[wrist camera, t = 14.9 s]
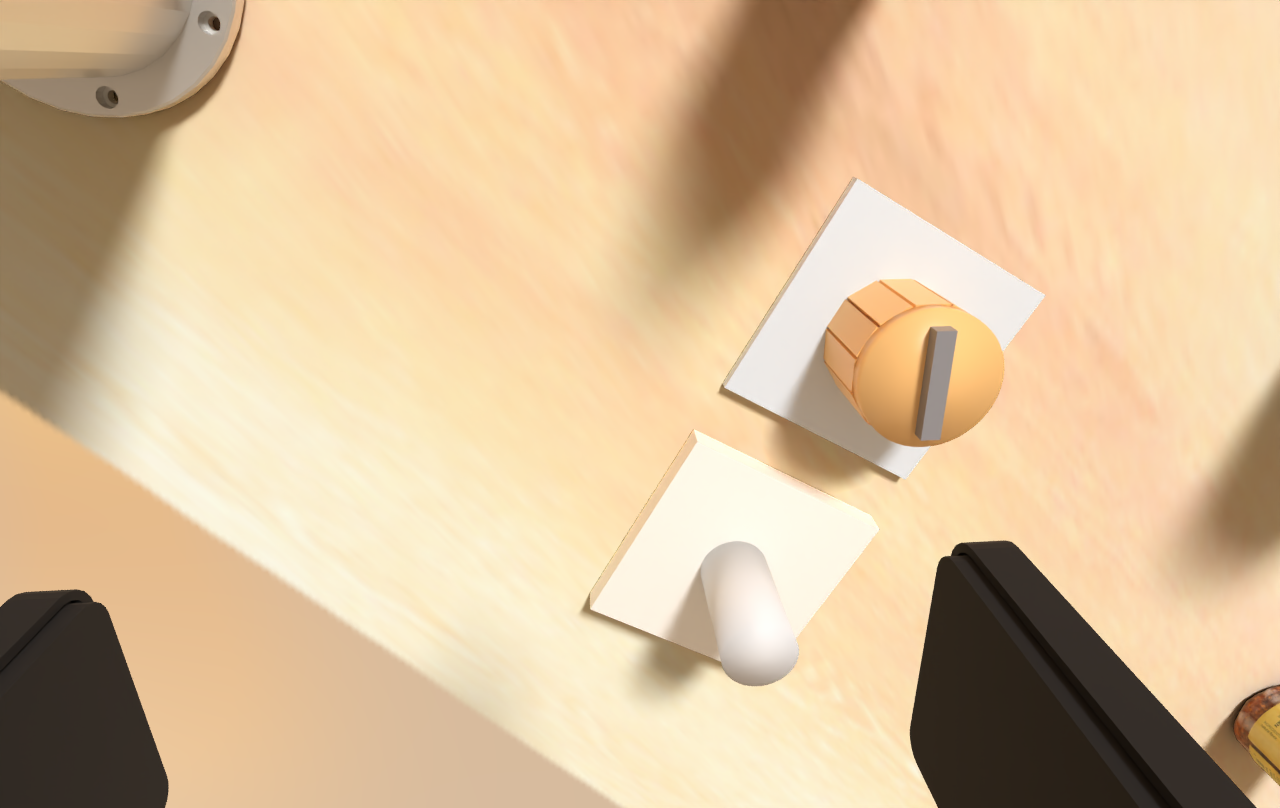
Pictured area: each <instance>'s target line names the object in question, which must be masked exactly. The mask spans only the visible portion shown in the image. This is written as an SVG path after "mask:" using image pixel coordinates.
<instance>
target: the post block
mask: <svg viewBox="0 0 1280 808" xmlns="http://www.w3.org/2000/svg"><path fill="white" fill-rule="evenodd" d="M879 530H880V529H879V528H878V526H877V524H876V523H875V521H874V520H873V518H872V517H871V515H869V514H867V513H865V512H863V511H861V510H859V509H857V508H855V507H853V506H851V505H849V504H846V503H844V502H842V501H840V500H838V499H836V498H834V497H832V496H830V495H828V494H826V493H824V492H822V491H820V490H818V489H816V488H814V487H812V486H809V485H807V484H805V483H803V482H801V481H799V480H797V479H795V478H793V477H791V476H789V475H787V474H785V473H783V472H781V471H779V470H777V469H775V468H773V467H770V466H768V465H766V464H764V463H762V462H760V461H758V460H756V459H754V458H752V457H750V456H748V455H746V454H744V453H742V452H740V451H738V450H736V449H733V448H731V447H729V446H727V445H725V444H723V443H721V442H719V441H717V440H715V439H713V438H711V437H709V436H707V435H705V434H703V433H701V432H699V431H697V430H694V429H693V431H692V433H691V434H690V436H689V437H688V439H687V440H686V442H685V444H684V445H683V447H682V448H681V450H680V451H679V453H678V455H677V456H676V458H675V459H674V461H673V463H672V464H671V466H670V467H669V469H668V470H667V472H666V474H665V475H664V477H663V478H662V480H661V481H660V483H659V485H658V486H657V488H656V489H655V491H654V492H653V494H652V496H651V497H650V499H649V500H648V502H647V504H646V505H645V507H644V508H643V510H642V511H641V513H640V515H639V516H638V518H637V519H636V521H635V522H634V524H633V526H632V527H631V529H630V530H629V532H628V534H627V535H626V537H625V538H624V540H623V541H622V543H621V545H620V546H619V548H618V549H617V551H616V552H615V554H614V556H613V557H612V559H611V560H610V562H609V564H608V565H607V567H606V568H605V570H604V571H603V573H602V575H601V576H600V578H599V579H598V581H597V582H596V584H595V586H594V587H593V589H592V590H591V592H590V609H591V610H593V611H596V612H598V613H601V614H603V615H606V616H608V617H611V618H613V619H616V620H618V621H621V622H623V623H626V624H628V625H631V626H633V627H636V628H638V629H641V630H643V631H646V632H648V633H651V634H653V635H656V636H658V637H660V638H663V639H665V640H668V641H670V642H673V643H675V644H678V645H680V646H683V647H685V648H688V649H690V650H693V651H695V652H698V653H700V654H703V655H705V656H708V657H710V658H713V659H715V660H718V661H720V662H721V664H722V667H723V670H724V671H725V673H726V674H727V675H728V676H729V677H730V678H731V679H732V680H734V681H736V682H738V683H740V684H743V685H748V686H763V685H768V684H771V683H774V682H776V681H778V680H780V679H782V678H783V677H785V676H786V675H787V674H788V673H789V672H790V671H791V670H792V669H793V667H794V666H795V664H796V662H797V659H798V655H799V647H798V643H797V641H796V638H797V636H798V635H799V634H800V632H801V631H802V630H803V629H804V627H805V626H806V625H807V623H808V622H809V621H810V619H811V618H812V617H813V616H814V614H815V613H816V612H817V610H818V609H819V608H820V606H821V605H822V604H823V602H824V601H825V600H826V599H827V597H828V596H829V595H830V593H831V592H832V591H833V589H834V588H835V587H836V586H837V584H838V583H839V582H840V580H841V579H842V578H843V576H844V575H845V574H846V573H847V571H848V570H849V569H850V567H851V566H852V565H853V563H854V562H855V561H856V560H857V558H858V557H859V556H860V554H861V553H862V552H863V550H864V549H865V548H866V546H867V545H868V544H869V543H870V541H871V540H872V539H873V537H874V536H875V535H876V533H877V532H878V531H879Z"/></svg>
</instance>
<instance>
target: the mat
mask: <svg viewBox="0 0 1280 808" xmlns="http://www.w3.org/2000/svg"><path fill="white" fill-rule="evenodd" d="M882 279H912V280H916V281H918V282H919V283H921V284H923V285H924V286H926V287H928V288H929V289H931V290H933V291H934V292H936V293H938V294H939V295H941V296H942V297H944V298H946V299H947V300H949V301H950V302H952V303H954V304H955V305H957V306H958V307H960V308H962V309H963V310H965V311H966V312H968V313H969V314H971V315H973V316H974V317H976V318H977V319H979V320H981V322H983V323H984V324H985V325H986V326H987V327H988V328H989V329H990V330H991V331H992V332H993V333H994V335H995V336H996V338H997V339H998V341H999V343H1000V346H1001V349H1002V352H1003V351H1004V349H1005V348H1006V347H1007V345H1008V344H1009V343H1010V342H1011V340H1012V339H1013V338H1014V336H1015V335H1016V334H1017V332H1018V331H1019V330H1020V328H1021V327H1022V326H1023V324H1024V323H1025V322H1026V320H1027V319H1028V318H1029V317H1030V315H1031V314H1032V313H1033V311H1034V310H1035V309H1036V307H1037V306H1038V305H1039V303H1040V302H1041V301H1042V299H1043V298H1044V297H1045V296H1046V295H1044V294H1042V293H1041V292H1039V291H1038V290H1036V289H1034V288H1033V287H1031V286H1029V285H1028V284H1026V283H1025V282H1023V281H1021V280H1020V279H1018V278H1017V277H1015V276H1013V275H1012V274H1010V273H1009V272H1007V271H1005V270H1004V269H1002V268H1001V267H999V266H997V265H996V264H994V263H992V262H991V261H989V260H988V259H986V258H984V257H983V256H981V255H980V254H978V253H976V252H975V251H973V250H972V249H970V248H968V247H967V246H965V245H964V244H962V243H960V242H959V241H957V240H955V239H954V238H952V237H951V236H949V235H947V234H946V233H944V232H943V231H941V230H939V229H938V228H936V227H935V226H933V225H931V224H930V223H928V222H927V221H925V220H923V219H922V218H920V217H918V216H917V215H915V214H914V213H912V212H910V211H909V210H907V209H906V208H904V207H902V206H901V205H899V204H898V203H896V202H894V201H893V200H891V199H890V198H888V197H886V196H885V195H883V194H881V193H880V192H878V191H877V190H875V189H873V188H872V187H870V186H869V185H867V184H865V183H864V182H862V181H861V180H859V179H857V178H855V177H853V178H852V180H851V182H850V183H849V185H848V186H847V188H846V189H845V191H844V193H843V194H842V196H841V197H840V199H839V201H838V202H837V204H836V205H835V207H834V208H833V210H832V212H831V213H830V215H829V216H828V218H827V219H826V221H825V223H824V224H823V226H822V227H821V229H820V231H819V232H818V234H817V235H816V237H815V238H814V240H813V242H812V243H811V245H810V246H809V248H808V249H807V251H806V253H805V254H804V256H803V257H802V259H801V261H800V262H799V264H798V265H797V267H796V268H795V270H794V272H793V273H792V275H791V276H790V278H789V279H788V281H787V283H786V284H785V286H784V287H783V289H782V290H781V292H780V294H779V295H778V297H777V298H776V300H775V302H774V303H773V305H772V306H771V308H770V309H769V311H768V313H767V314H766V316H765V317H764V319H763V320H762V322H761V324H760V325H759V327H758V328H757V330H756V332H755V333H754V335H753V336H752V338H751V339H750V341H749V343H748V344H747V346H746V347H745V349H744V350H743V352H742V354H741V355H740V357H739V358H738V360H737V362H736V363H735V365H734V366H733V368H732V369H731V371H730V373H729V374H728V376H727V377H726V379H725V380H724V382H723V385H724V387H725V388H726V389H728V390H730V391H732V392H734V393H736V394H738V395H740V396H742V397H744V398H746V399H748V400H750V401H752V402H754V403H756V404H758V405H760V406H762V407H764V408H765V409H767V410H769V411H771V412H773V413H775V414H777V415H779V416H781V417H783V418H785V419H787V420H789V421H791V422H793V423H795V424H797V425H799V426H801V427H803V428H805V429H807V430H809V431H811V432H813V433H815V434H817V435H819V436H821V437H822V438H824V439H826V440H828V441H830V442H832V443H834V444H836V445H838V446H840V447H842V448H844V449H846V450H848V451H850V452H852V453H854V454H856V455H858V456H860V457H862V458H864V459H866V460H868V461H870V462H872V463H874V464H876V465H878V466H880V467H881V468H883V469H885V470H887V471H889V472H891V473H893V474H895V475H897V476H899V477H901V478H903V479H906V478H907V477H908V476H909V474H910V473H911V472H912V470H913V469H914V468H915V466H916V465H917V464H918V462H919V461H920V460H921V458H922V457H923V456H924V454H925V453H926V452H927V451H928V449H929V448H930V447H931V446H928V447H910V446H904V445H900V444H897V443H894V442H892V441H890V440H888V439H886V438H885V437H883V436H882V435H880V434H879V433H878V432H877V431H876V430H875V429H874V428H873V427H872V426H871V425H869V424H868V423H867V422H866V421H865V420H864V419H863V418H862V417H861V415H860V414H859V413H858V412H857V410H856V409H855V408H854V407H853V405H852V404H851V403H850V402H849V400H848V399H847V398H846V397H845V396H844V394H843V393H842V392H841V391H840V389H839V388H838V387H837V386H836V384H835V382H834V380H833V378H832V376H831V374H830V372H829V370H828V368H827V367H826V365H825V363H824V361H825V360H824V359H823V357H824V346H825V335H826V329H829V328H828V327H827V326H828V324H829V323H830V321H831V320H832V318H833V317H834V315H835V314H836V312H837V311H838V309H839V308H840V306H841V305H842V303H843V302H844V300H845V299H846V300H847V301H849V299H848V296H850V295H852V294H854V293H855V292H857V291H859V290H861V289H862V288H864V287H866V286H868V285H869V284H871V283H873V282H875V281H876V280H877V281H878V282H879V281H880V280H882ZM849 302H850V301H849Z"/></svg>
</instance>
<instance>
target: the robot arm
mask: <svg viewBox="0 0 1280 808" xmlns="http://www.w3.org/2000/svg"><path fill="white" fill-rule="evenodd" d="M243 6H244V0H0V81H2V82H4V83H5V84H7V85H9V86H10V87H12V88H14V89H16V90H17V91H19V92H21V93H22V94H24V95H26V96H28V97H29V98H32V99H34V100H37V101H39V102H42V103H44V104H47V105H49V106H52V107H54V108H57V109H59V110H63V111H68V112H72V113H77V114H82V115H86V116H91V117H130V116H139V115H146V114H150V113H153V112H157V111H160V110H164V109H167V108H171V107H173V106H175V105H176V104H178V103H180V102H182V101H184V100H185V99H187V98H189V97H191V96H193V95H194V94H196V93H197V92H198V91H199V90H200V89H201V88H202V87H203V86H204V85H205V84H207V83H208V82H209V81H210V80H211V79H212V78H213V77H214V76H215V74H216V73H217V72H218V70H219V69H220V67H221V66H222V64H223V63H224V61H225V60H226V58H227V57H228V55H229V54H230V51H231V49H232V46H233V44H234V41H235V39H236V36H237V33H238V31H239V28H240V24H241V18H242V12H243ZM216 17H217V18H218V19H219V21H220V30H218V31H217V30H216V29H215V28H214V26H213V20H214V18H216ZM114 92H116V94H117V96H118V102H117V101H116V100H115V99H114V97H113V93H114ZM910 741H911V747H912V751H913V755H914V758H915V760H916V763H917V765H918V767H919V769H920V771H921V773H922V775H923V778H924V780H925V782H926V784H927V786H928V788H929V790H930V792H931V794H932V796H933V798H934V800H935V802H936V804H937V806H938V808H1256V807H1255V805H1254V804H1253V803H1252V802H1251V801H1250V800H1249V799H1248V798H1247V797H1246V796H1245V795H1244V793H1243V792H1242V791H1241V790H1240V789H1239V788H1238V787H1237V786H1236V785H1235V784H1234V783H1233V781H1232V780H1231V779H1230V778H1229V777H1228V776H1227V775H1226V774H1225V773H1224V772H1223V771H1222V769H1221V768H1220V767H1219V766H1218V765H1217V764H1216V763H1215V762H1214V761H1213V760H1212V759H1211V757H1210V756H1209V755H1208V754H1207V753H1206V752H1205V751H1204V750H1203V749H1202V748H1201V747H1200V745H1199V744H1198V743H1197V742H1196V741H1195V740H1194V739H1193V738H1192V737H1191V736H1190V735H1189V733H1188V732H1187V731H1186V730H1185V729H1184V728H1183V727H1182V726H1181V725H1180V724H1179V722H1178V721H1177V720H1176V719H1175V718H1174V717H1173V716H1172V715H1171V714H1170V713H1169V712H1168V710H1167V709H1166V708H1165V707H1164V706H1163V705H1162V704H1161V703H1160V702H1159V701H1158V700H1157V698H1156V697H1155V696H1154V695H1153V694H1152V693H1151V692H1150V691H1149V690H1148V689H1147V688H1146V686H1145V685H1144V684H1143V683H1142V682H1141V681H1140V680H1139V679H1138V678H1137V677H1136V676H1135V674H1134V673H1133V672H1132V671H1131V670H1130V669H1129V668H1128V667H1127V666H1126V665H1125V664H1124V662H1123V661H1122V660H1121V659H1120V658H1119V657H1118V656H1117V655H1116V654H1115V653H1114V652H1113V650H1112V649H1111V648H1110V647H1109V646H1108V645H1107V644H1106V643H1105V642H1104V641H1103V640H1102V638H1101V637H1100V636H1099V635H1098V634H1097V633H1096V632H1095V631H1094V630H1093V629H1092V627H1091V626H1090V625H1089V624H1088V623H1087V622H1086V621H1085V620H1084V619H1083V618H1082V617H1081V615H1080V614H1079V613H1078V612H1077V611H1076V610H1075V609H1074V608H1073V607H1072V606H1071V605H1070V603H1069V602H1068V601H1067V600H1066V599H1065V598H1064V597H1063V596H1062V595H1061V594H1060V593H1059V591H1058V590H1057V589H1056V588H1055V587H1054V586H1053V585H1052V584H1051V583H1050V582H1049V581H1048V579H1047V578H1046V577H1045V576H1044V575H1043V574H1042V573H1041V572H1040V571H1039V570H1038V569H1037V567H1036V566H1035V565H1034V564H1033V563H1032V562H1031V561H1030V560H1029V559H1028V558H1027V557H1026V555H1025V554H1024V553H1023V552H1022V551H1021V550H1020V549H1019V548H1018V547H1017V546H1016V545H1015V544H1013V543H1012V542H1009V541H988V542H969V543H960V544H958V545H956V546H955V548H954V549H953V551H952V554H951V556H945V557H943V558H941V560H940V561H939V564H938V567H937V572H936V578H935V584H934V590H933V596H932V602H931V608H930V613H929V619H928V625H927V631H926V637H925V643H924V649H923V655H922V661H921V667H920V673H919V678H918V684H917V690H916V696H915V702H914V708H913V714H912V720H911V726H910ZM167 797H168V779H167V775H166V772H165V769H164V767H163V764H162V761H161V758H160V755H159V753H158V750H157V747H156V744H155V741H154V739H153V736H152V733H151V730H150V727H149V725H148V722H147V719H146V716H145V713H144V711H143V708H142V705H141V702H140V699H139V697H138V694H137V691H136V688H135V685H134V683H133V680H132V677H131V674H130V671H129V668H128V666H127V663H126V660H125V657H124V654H123V652H122V649H121V646H120V643H119V641H118V638H117V635H116V632H115V630H114V627H113V624H112V621H111V618H110V615H109V613H108V611H107V609H106V607H104V605H102V604H101V603H97V602H93V600H92V598H91V597H90V596H89V595H88V594H87V593H86V592H85V591H81V590H58V591H39V592H24V593H21V594H17V595H15V596H13V597H12V598H10V599H9V600H7V601H6V602H5V603H4V604H3V605H2V606H1V607H0V808H165V805H166V802H167Z"/></svg>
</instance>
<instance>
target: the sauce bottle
mask: <svg viewBox="0 0 1280 808" xmlns="http://www.w3.org/2000/svg"><path fill="white" fill-rule="evenodd" d="M1234 733H1235V736H1236V738H1237V740H1238V741H1239V742H1240V743H1241V744H1242V746H1243V747H1244V748H1245V749H1246V750H1247V751H1248V752H1250V754H1251V756H1252V758H1253V760H1254V761H1255V762H1256V763H1257V764H1258V765H1259V766H1260V767H1261V768H1262V769H1263V770H1264V771H1265V772H1266V773H1267V774H1268V775H1269V776H1270V777H1271V778H1272V779H1273V780H1274V781H1275V782H1276V783H1277V784H1278V785H1279V786H1280V686H1275V687H1272V688H1268V689H1266V690H1264V691H1263V692H1261V693H1258V694H1256V695H1254V696H1253V697H1252V698H1250V699H1249V700H1247V701H1246V703H1245V704H1244V706H1243V707H1242V709H1241V711H1240V712H1239V714H1238V716H1237V718H1236V720H1235V722H1234Z"/></svg>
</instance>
